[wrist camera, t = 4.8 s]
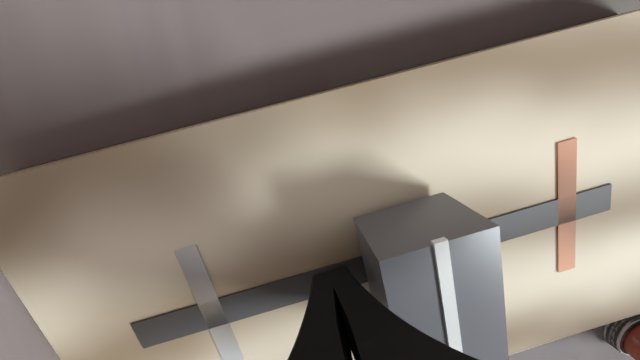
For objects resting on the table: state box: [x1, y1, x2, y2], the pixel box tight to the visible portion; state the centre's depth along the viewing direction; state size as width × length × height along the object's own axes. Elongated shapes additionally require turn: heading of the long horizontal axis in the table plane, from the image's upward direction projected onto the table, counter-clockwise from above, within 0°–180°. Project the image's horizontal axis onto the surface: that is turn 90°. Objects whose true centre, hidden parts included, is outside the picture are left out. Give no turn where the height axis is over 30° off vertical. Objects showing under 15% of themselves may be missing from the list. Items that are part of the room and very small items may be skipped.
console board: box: [0, 9, 640, 360], centre depth 13 cm, size 14×26×3 cm, turn 104°
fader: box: [353, 192, 509, 360], centre depth 10 cm, size 5×4×3 cm
